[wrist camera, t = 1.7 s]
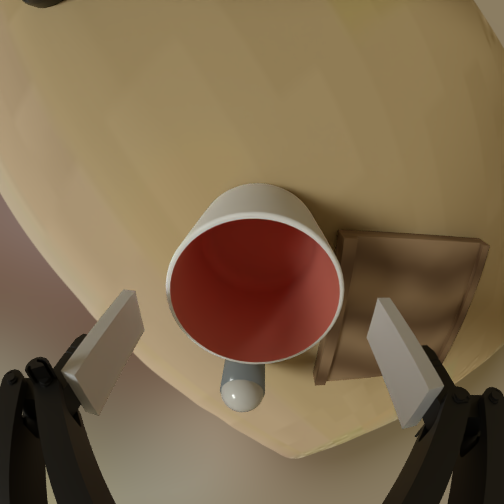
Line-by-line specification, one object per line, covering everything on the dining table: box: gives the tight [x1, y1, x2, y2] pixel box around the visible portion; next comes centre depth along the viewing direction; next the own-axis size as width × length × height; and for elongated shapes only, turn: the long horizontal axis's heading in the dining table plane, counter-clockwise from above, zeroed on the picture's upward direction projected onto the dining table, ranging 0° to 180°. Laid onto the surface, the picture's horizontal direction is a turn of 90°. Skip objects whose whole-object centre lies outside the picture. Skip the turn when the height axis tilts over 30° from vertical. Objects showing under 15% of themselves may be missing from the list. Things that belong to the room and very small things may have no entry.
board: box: [313, 230, 490, 385], centre depth 26 cm, size 18×18×2 cm
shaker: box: [220, 359, 265, 412], centre depth 25 cm, size 4×4×9 cm
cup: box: [166, 183, 344, 364], centre depth 19 cm, size 10×10×10 cm
